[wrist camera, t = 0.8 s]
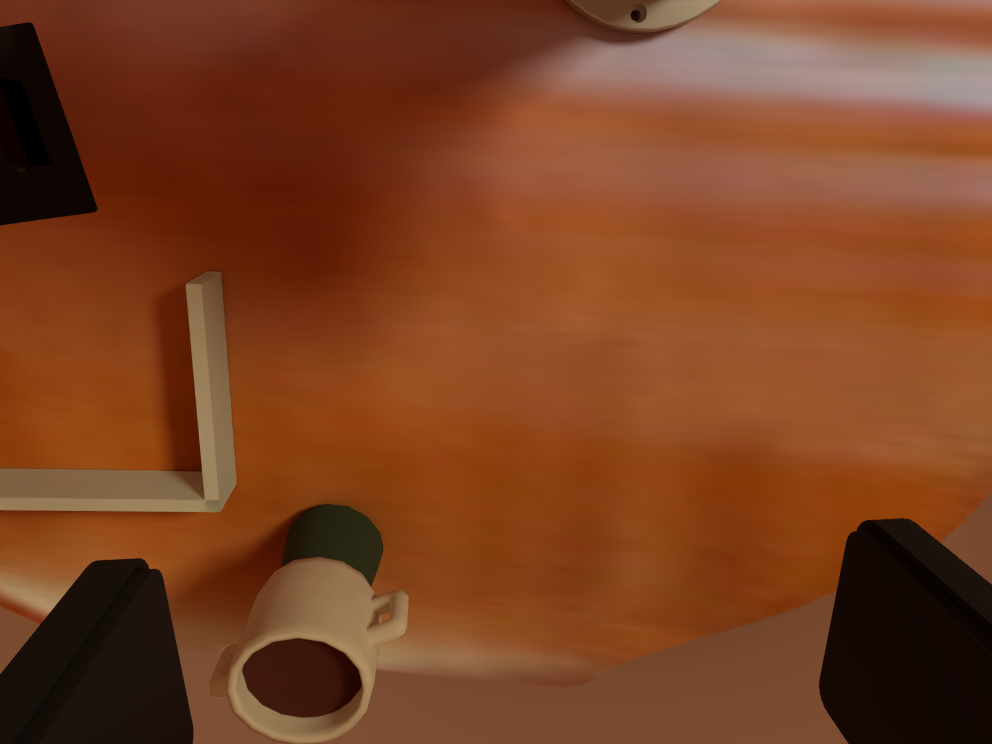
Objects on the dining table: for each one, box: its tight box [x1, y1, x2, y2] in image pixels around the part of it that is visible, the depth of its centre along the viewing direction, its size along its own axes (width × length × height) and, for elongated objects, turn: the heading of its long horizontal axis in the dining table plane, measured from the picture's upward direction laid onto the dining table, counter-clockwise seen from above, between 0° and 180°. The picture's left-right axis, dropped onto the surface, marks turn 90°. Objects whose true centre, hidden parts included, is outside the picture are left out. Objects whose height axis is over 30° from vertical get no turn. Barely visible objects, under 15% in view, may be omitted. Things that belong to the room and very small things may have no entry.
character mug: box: [210, 504, 408, 744], centre depth 39 cm, size 11×7×13 cm, turn 109°
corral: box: [0, 271, 236, 512], centre depth 38 cm, size 14×20×4 cm
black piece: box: [0, 22, 97, 225], centre depth 34 cm, size 12×7×5 cm, turn 9°
